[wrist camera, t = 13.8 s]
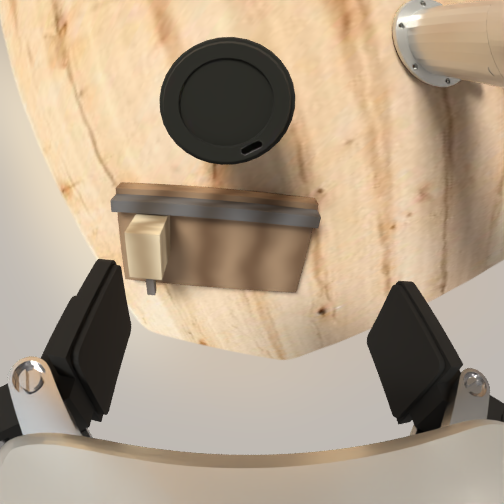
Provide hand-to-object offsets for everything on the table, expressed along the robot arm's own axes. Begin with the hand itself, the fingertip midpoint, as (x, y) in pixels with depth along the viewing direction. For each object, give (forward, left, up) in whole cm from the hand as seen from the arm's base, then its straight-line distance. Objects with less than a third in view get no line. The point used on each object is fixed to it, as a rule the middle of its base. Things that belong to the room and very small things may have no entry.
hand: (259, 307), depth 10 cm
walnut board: (+2, +14, -28) cm, 32 cm away
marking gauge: (+10, +15, -26) cm, 32 cm away
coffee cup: (+2, -5, -28) cm, 29 cm away
